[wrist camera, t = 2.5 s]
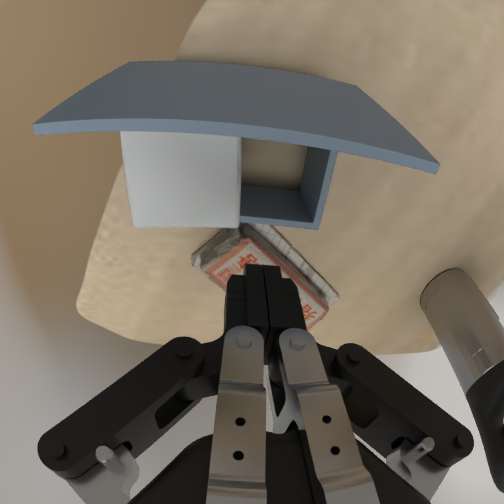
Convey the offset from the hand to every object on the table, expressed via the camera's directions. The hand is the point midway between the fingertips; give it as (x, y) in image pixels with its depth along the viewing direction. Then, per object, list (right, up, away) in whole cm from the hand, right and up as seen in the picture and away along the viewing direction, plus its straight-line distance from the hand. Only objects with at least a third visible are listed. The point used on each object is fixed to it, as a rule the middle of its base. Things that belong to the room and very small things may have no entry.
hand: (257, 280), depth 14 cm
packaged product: (+2, -2, +26) cm, 26 cm away
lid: (-1, +9, +1) cm, 9 cm away
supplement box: (-5, +13, +15) cm, 20 cm away
